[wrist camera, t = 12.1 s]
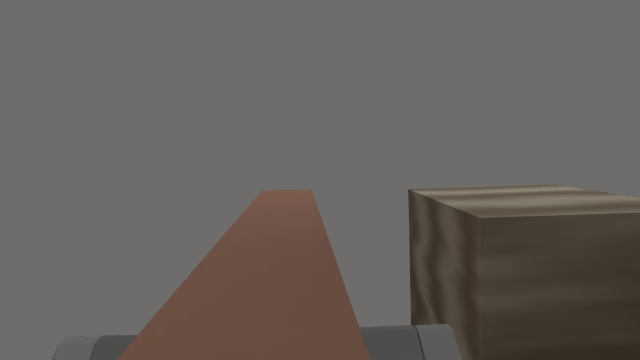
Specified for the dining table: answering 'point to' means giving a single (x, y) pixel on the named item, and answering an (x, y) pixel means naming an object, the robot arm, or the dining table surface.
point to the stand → (528, 271)
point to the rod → (260, 294)
